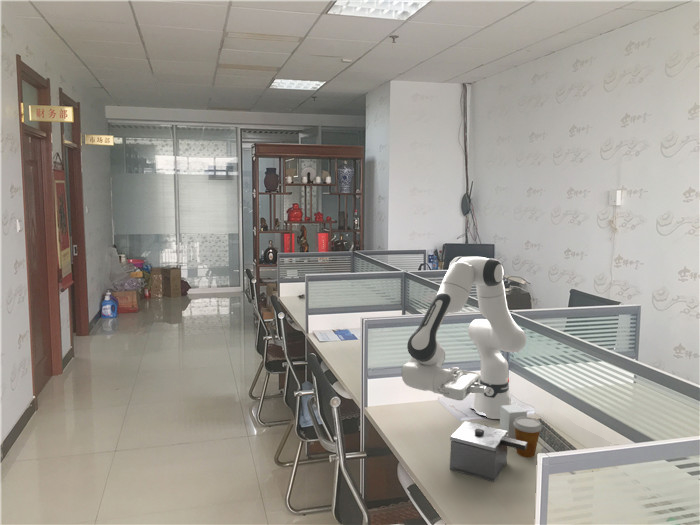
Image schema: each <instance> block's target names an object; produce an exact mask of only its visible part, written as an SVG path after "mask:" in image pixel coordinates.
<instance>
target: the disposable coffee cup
mask: <svg viewBox="0 0 700 525" xmlns="http://www.w3.org/2000/svg"><path fill="white" fill-rule="evenodd" d="M514 427H515V436H516V440H520V441H524V442H527V448H526V449H525V450H521V449H517V448H515V449H516V450H515V451H516V454H517V455H518V456H519V457H521V458H527V459H528V458H530V459H531V458H534V457H535V456H536V453H537V452H536V451H537V447H538V446H537V445H538V442H539V437H540V431H541V430H542V427H543V426H542V424H541V422H540V420H538V419H536V418H533V417H530V416H527V417H518V418H516V419H515V422H514Z"/></svg>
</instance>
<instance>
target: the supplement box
mask: <svg viewBox="0 0 700 525" xmlns="http://www.w3.org/2000/svg"><path fill="white" fill-rule="evenodd" d="M518 417H528V411H527V410H526V409H525V408H523V407H521V406H520V405H519V404H516V405H505V406H501V408H500V419H499V428H498V429H501V430H506V431H508V432H507V435H508V438H512V439H516V436H515V427H514V422H515V419H516V418H518Z"/></svg>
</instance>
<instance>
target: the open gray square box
mask: <svg viewBox="0 0 700 525" xmlns="http://www.w3.org/2000/svg"><path fill="white" fill-rule="evenodd" d="M506 437H508V435H506ZM508 447H509V446H505V445H501V444H500V445H499V446H498V448H497V449H496V450H495V451H491V450H487V449H483V448H479V447H475V446H471V445H467V444H464V443H460V442H456V441H452V440H450V454H449V456H450V457H449V470H450V471H454V472H458V473H461V474H465V475H468V476H472V477H476V478H479V479H482V480H486V481H490V482H493V483H494V482H495V481H496V480H497V478H498V477H499V475H500V474H501V472H502V470H503V469H504V468H505V466H506V464H507V463H508V461H507V460H508Z"/></svg>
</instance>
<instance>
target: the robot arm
mask: <svg viewBox="0 0 700 525" xmlns="http://www.w3.org/2000/svg"><path fill="white" fill-rule="evenodd" d="M504 278H505V267H504V264H502V262H501V261H500V260H499V259H496V258H493V257H492V258H487V257H483V256H464V255H463V256H462V255H461V256H456V257H454V258H453V259H452V260H451V261H450V262H449V266H448V270H446V273H445V275H444V277H443V278H442V281H441V283H440V286H439V289H438V291H437V293H436V295H435V296H434V298H433V299H432V301H431V303H430V305H429V306H428V309H427V310H426V312H425V315H424V316H423V318H422V321H421V322H420V324H419V326H418V327H417V329H416V330H415V331H414V332H413V333H412V334H411V336H410V337H409V338H408V340H407V352H408V354H409V355H410V356H411V359H409V360H408V361H407V362H406V363H404V364H403V366H402V369H401V378H402V381H403V383H404V384H405V386H407V387H409V388H411V389H415V390H419V391H425V392H427V391H428V392H429V391H430V392H432V393H434V394H438V395H442V396H443V397H445V398H448V399H452V400H455V401H459V402H460V401H464V400H465V399H466V398H467V397H468V396H469V395H471V394H474V399H473V400H474V401H473V403H472V404H471V405H470V406H473V405H474V408H475V409H476V410H477V411H479V412H483V413H485V414H486V416H487V418H486V419H492V420H500V408H501V406H505V405H512V404H511V401H513V400H512V398H513V397H512V396H513V395H512V394H513V393H512V392H511V391H510V390H509V388H510V378H508V376H509V363H508V361H507V359H506V358H505V357H504V356H503V354H502V353H501V351H503V352H506V353H519V352H520V351H522V350H523V349H524V347H525V346H526V342H527V335H526V332H525V331H524V330H523V329H522V328H521V327H520V326H518V324H517V323H516V321H515V320H514V319H513V317H512V315H511V312H510V310H509V308H508V301H507V298H506V289H505V284H504ZM473 286H476V287H475V288H476V290H475V291H476V297H477V303H478V304H477V305H478V311H479V312H480V314H481V316H483V317H484V318H475V319H473V320H472V321H471V322H470V324H469V326H468V331H467V332H468V337H469V339H470V340H471V341H472V343H473V344H474V346H475V347H476V349H477V352H478V356H479V359H480V373H478V372H475V371H472V370H471V371H470V370H466V369H460V368H459V367H456V366H452V367H450V368H443V365H444V362H445V360H446V353H445V350H444V348H443V347H442V345H441V344H440V343H439V342H438V341H437V333H438V331H439V329H440V327H441V325H442V323H443V320H444V319H445V317H446V315H448V314H449V313H450V314H455V313H458V312H460V311H462V310H463V308H464V307H465V306H466V304H467V301H468V299H469V298H470V294H471V291H472V287H473Z"/></svg>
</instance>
